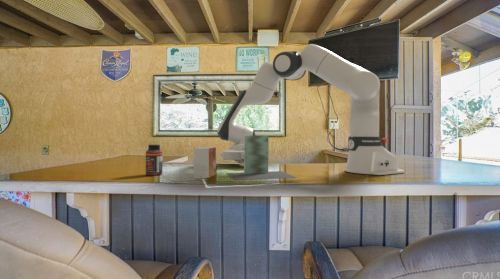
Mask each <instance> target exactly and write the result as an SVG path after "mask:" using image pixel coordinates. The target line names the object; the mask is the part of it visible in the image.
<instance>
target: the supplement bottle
mask: <svg viewBox="0 0 500 279" xmlns="http://www.w3.org/2000/svg"><path fill="white" fill-rule="evenodd" d="M145 175H146V176H150V177H155V176H156V177H157V176H162V175H163V151H162V150H161V146H160V144H154V143H153V144H150V143H149V144H148V149H147V150H146V151H145Z"/></svg>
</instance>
